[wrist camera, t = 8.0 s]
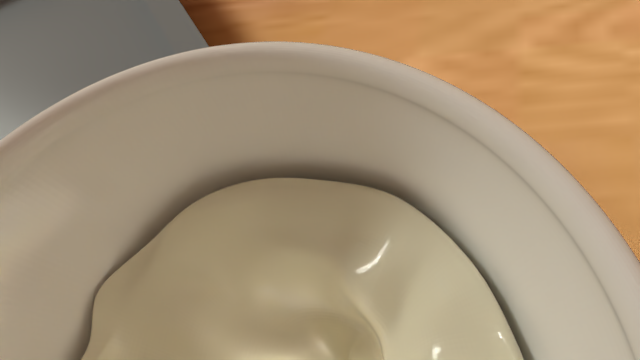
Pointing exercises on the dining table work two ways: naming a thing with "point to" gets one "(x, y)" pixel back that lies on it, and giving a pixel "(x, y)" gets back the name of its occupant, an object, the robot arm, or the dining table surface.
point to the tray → (80, 47)
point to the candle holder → (299, 221)
